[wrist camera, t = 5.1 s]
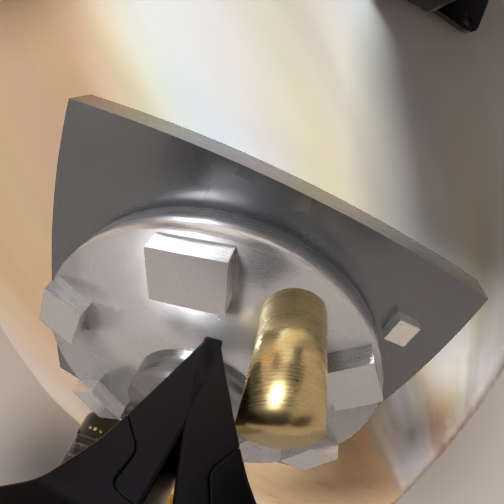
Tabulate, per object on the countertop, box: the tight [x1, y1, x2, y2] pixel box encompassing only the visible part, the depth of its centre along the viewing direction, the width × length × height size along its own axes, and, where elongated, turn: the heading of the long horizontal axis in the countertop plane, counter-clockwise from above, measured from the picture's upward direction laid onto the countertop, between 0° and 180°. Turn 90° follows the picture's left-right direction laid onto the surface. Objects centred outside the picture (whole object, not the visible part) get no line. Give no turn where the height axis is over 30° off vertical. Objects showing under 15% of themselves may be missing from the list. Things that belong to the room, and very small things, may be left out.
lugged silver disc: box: [39, 206, 383, 470], centre depth 13 cm, size 17×17×6 cm
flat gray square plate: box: [52, 95, 488, 465], centre depth 16 cm, size 20×20×2 cm
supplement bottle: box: [59, 412, 119, 466], centre depth 23 cm, size 7×7×12 cm
